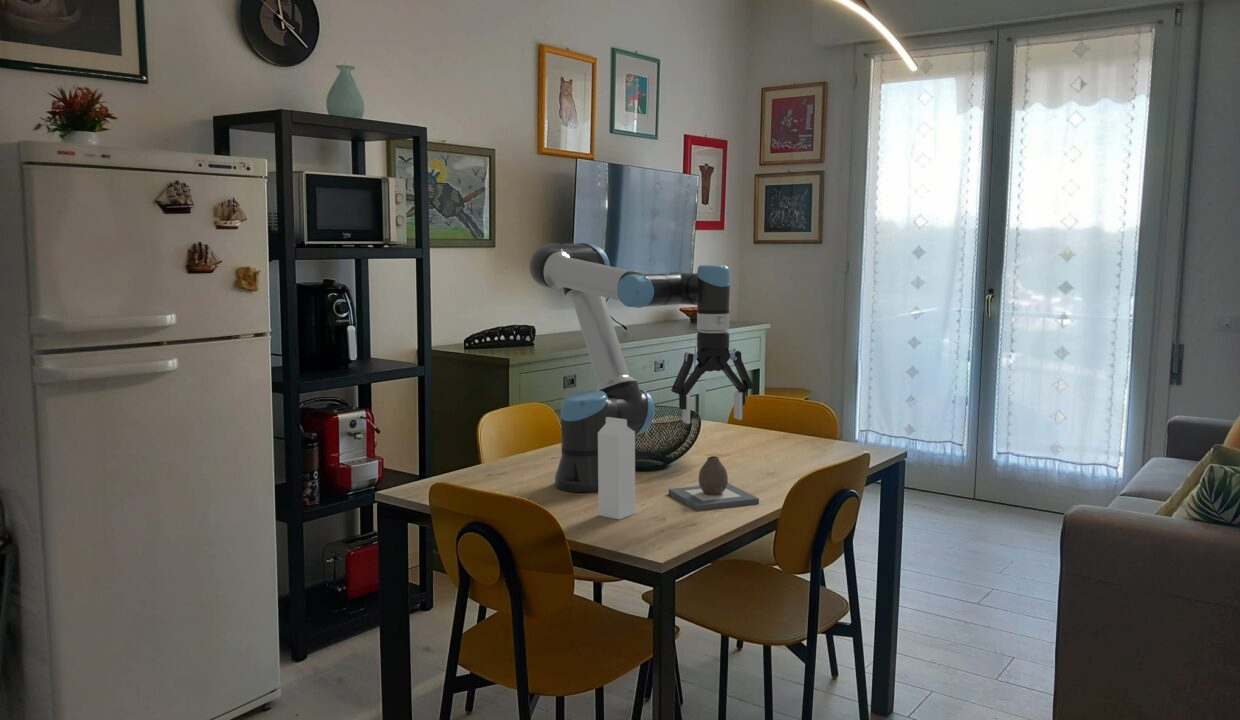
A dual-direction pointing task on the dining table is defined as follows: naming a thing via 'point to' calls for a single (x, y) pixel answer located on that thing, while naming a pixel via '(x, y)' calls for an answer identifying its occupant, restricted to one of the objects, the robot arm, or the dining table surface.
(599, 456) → the milk
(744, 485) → the dining table surface
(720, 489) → the vase
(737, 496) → the rest mat
